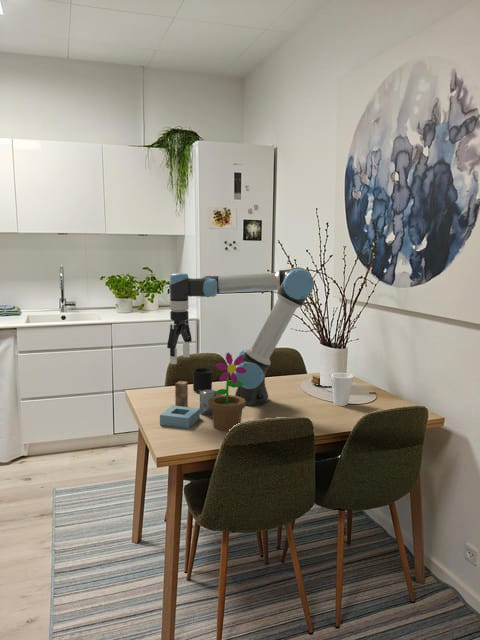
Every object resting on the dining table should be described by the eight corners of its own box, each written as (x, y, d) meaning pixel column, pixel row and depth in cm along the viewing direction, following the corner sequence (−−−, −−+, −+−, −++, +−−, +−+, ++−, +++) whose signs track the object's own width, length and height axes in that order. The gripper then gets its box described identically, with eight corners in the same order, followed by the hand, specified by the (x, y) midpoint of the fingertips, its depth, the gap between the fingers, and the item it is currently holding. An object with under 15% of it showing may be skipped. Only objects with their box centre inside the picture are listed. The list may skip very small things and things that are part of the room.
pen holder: (188, 390, 243) (188, 369, 242) (204, 386, 250) (204, 367, 248) (200, 394, 236) (200, 374, 235) (216, 391, 242) (216, 370, 241)
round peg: (218, 411, 214) (218, 390, 213) (212, 416, 208) (213, 395, 206) (203, 409, 216) (203, 389, 215) (197, 414, 210) (197, 393, 208)
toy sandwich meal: (341, 387, 253) (342, 378, 252) (315, 388, 251) (316, 379, 250) (332, 380, 265) (332, 371, 265) (307, 381, 263) (307, 372, 262)
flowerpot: (216, 434, 188) (216, 355, 183) (203, 422, 201) (203, 347, 196) (251, 429, 194) (252, 352, 189) (236, 417, 207) (237, 345, 202)
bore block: (199, 418, 205) (199, 408, 205) (188, 428, 194) (188, 418, 193) (172, 414, 209) (172, 405, 208) (159, 424, 197) (159, 414, 197)
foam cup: (353, 402, 229) (355, 374, 227) (349, 408, 220) (350, 379, 218) (333, 399, 233) (334, 371, 231) (327, 405, 224) (328, 376, 222)
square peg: (187, 406, 220) (187, 381, 218) (184, 409, 216) (184, 384, 214) (179, 405, 221) (179, 380, 219) (175, 408, 217) (175, 383, 215)
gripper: (182, 306, 225) (183, 353, 228) (158, 314, 202) (159, 366, 205) (198, 307, 223) (199, 354, 226) (175, 314, 200) (176, 367, 203)
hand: (180, 360), depth 216 cm, fingers open, 13 cm apart
